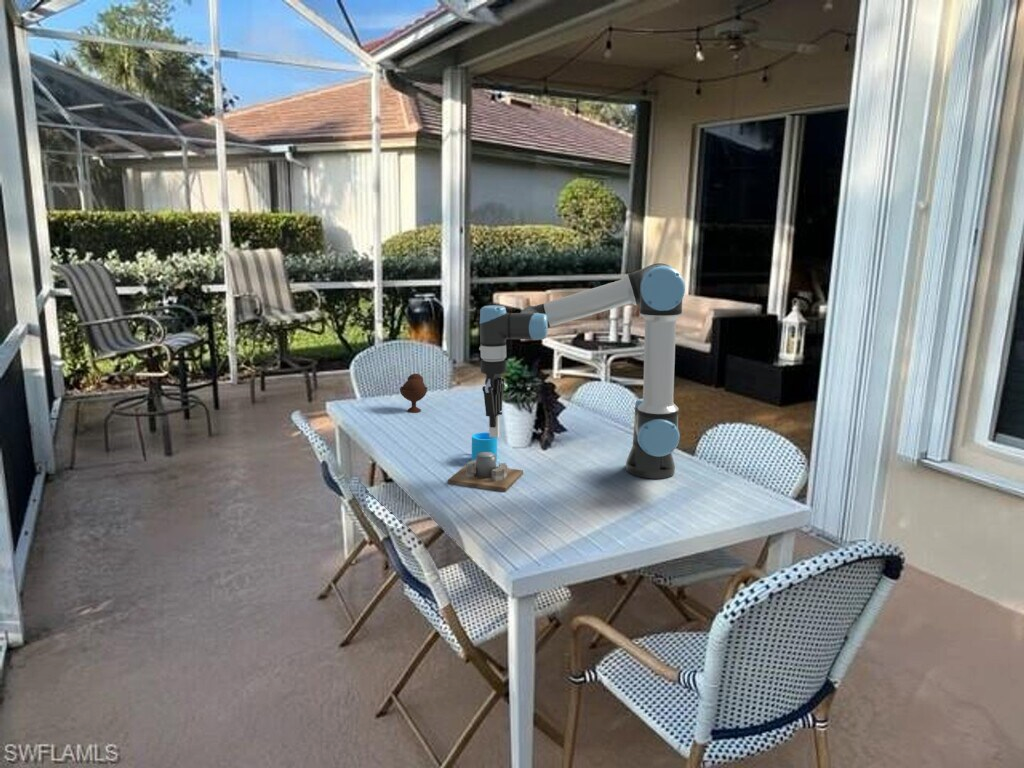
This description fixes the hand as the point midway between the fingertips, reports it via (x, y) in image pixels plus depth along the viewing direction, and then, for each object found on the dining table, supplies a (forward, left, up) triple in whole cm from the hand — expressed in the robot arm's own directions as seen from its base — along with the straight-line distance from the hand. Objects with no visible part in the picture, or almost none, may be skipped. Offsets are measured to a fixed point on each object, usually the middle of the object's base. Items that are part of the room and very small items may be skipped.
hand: (494, 436), depth 223 cm
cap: (+2, +2, -12) cm, 12 cm away
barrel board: (+2, +2, -13) cm, 13 cm away
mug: (+10, -15, -13) cm, 22 cm away
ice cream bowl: (+56, -59, -13) cm, 82 cm away
